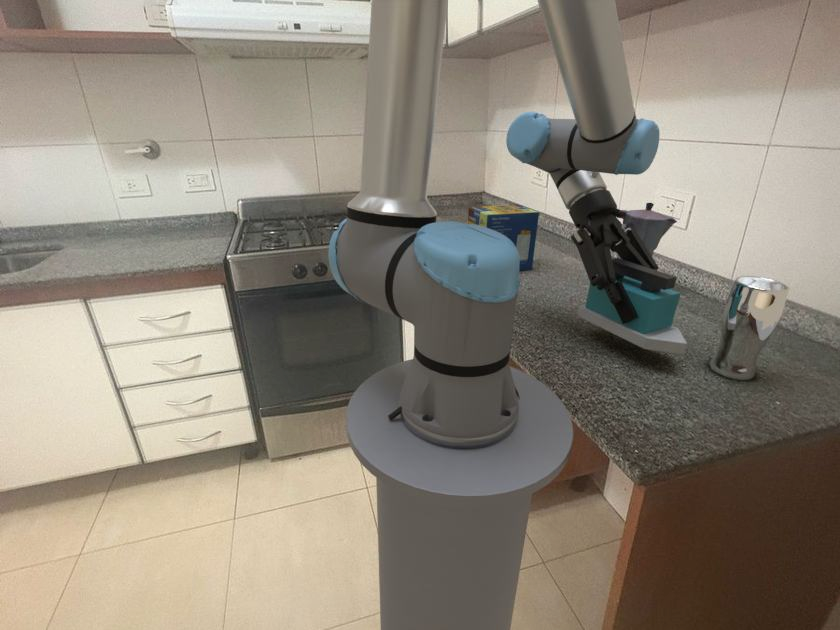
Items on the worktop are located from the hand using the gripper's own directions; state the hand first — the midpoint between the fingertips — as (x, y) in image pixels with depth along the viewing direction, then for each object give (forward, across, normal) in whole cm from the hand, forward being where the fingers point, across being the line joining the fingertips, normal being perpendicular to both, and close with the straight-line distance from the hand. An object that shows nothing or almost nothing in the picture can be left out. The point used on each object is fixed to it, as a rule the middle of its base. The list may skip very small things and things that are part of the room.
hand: (646, 316), depth 73 cm
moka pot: (-12, +28, +23) cm, 38 cm away
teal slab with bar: (+1, 0, +4) cm, 4 cm away
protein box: (-30, +9, +41) cm, 52 cm away
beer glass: (+13, +9, -2) cm, 16 cm away
